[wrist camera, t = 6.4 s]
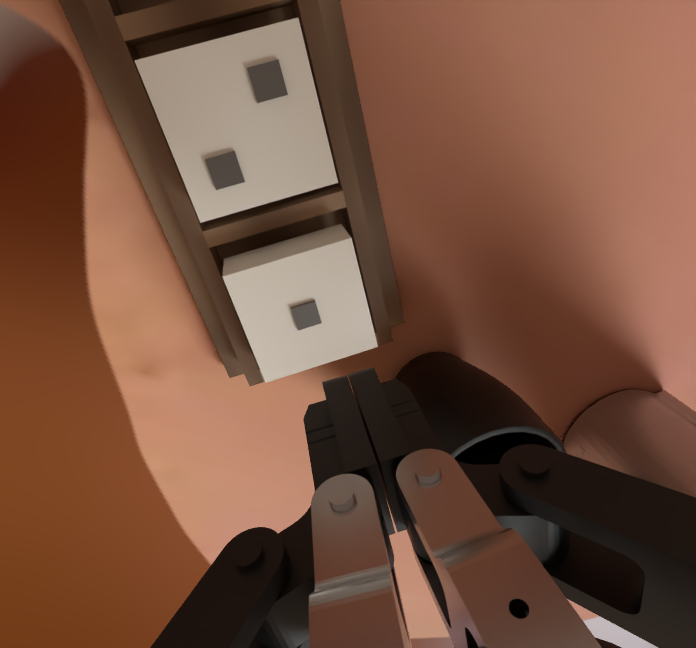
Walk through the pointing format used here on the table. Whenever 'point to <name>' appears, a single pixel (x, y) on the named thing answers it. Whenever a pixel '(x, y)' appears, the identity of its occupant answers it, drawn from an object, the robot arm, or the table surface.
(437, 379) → the mug
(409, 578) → the table surface
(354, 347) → the tile one
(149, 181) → the board
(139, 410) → the table surface
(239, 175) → the tile two
